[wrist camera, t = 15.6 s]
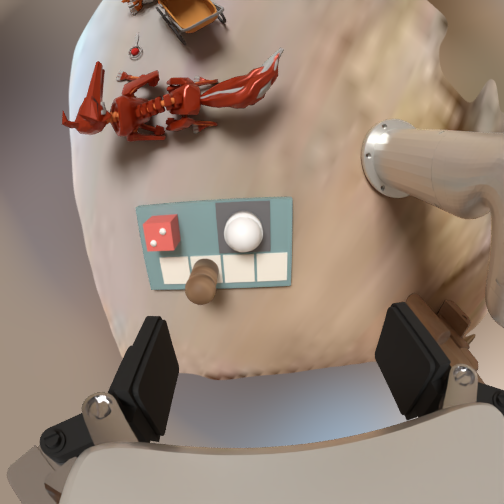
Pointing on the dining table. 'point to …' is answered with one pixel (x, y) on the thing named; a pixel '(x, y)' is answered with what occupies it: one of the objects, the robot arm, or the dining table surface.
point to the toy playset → (181, 96)
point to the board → (215, 242)
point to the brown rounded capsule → (202, 282)
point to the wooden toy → (446, 329)
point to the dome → (243, 231)
